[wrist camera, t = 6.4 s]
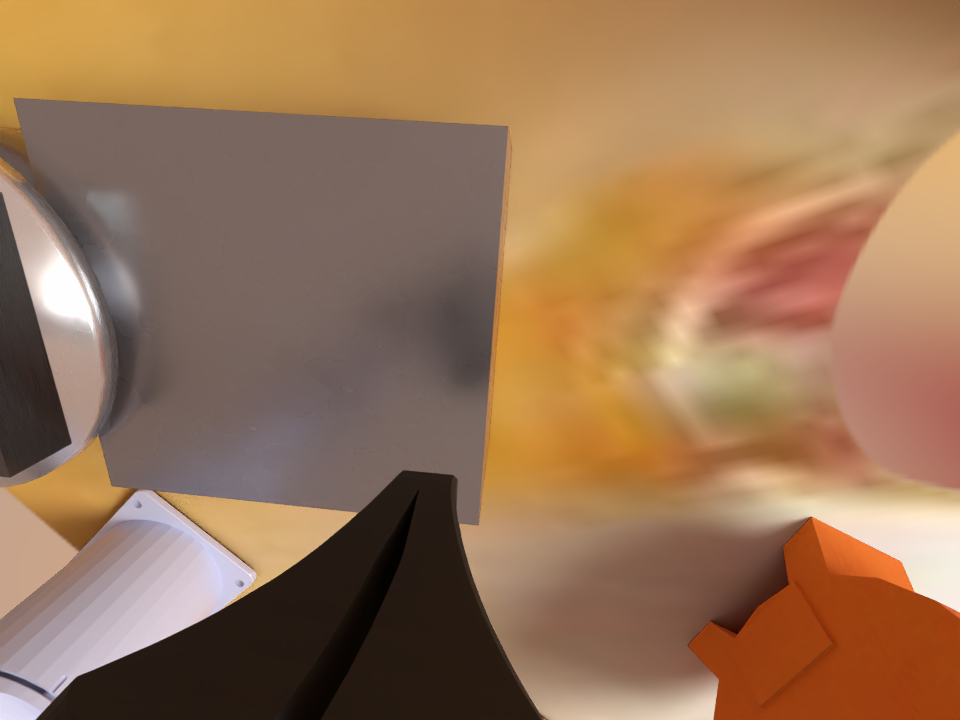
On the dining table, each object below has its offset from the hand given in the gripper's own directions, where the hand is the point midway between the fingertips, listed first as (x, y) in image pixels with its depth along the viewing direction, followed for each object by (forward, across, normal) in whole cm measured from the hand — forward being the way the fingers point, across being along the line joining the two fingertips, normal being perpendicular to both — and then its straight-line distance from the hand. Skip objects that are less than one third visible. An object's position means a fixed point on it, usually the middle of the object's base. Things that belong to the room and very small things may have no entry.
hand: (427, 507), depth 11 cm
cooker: (+10, +12, -2) cm, 16 cm away
